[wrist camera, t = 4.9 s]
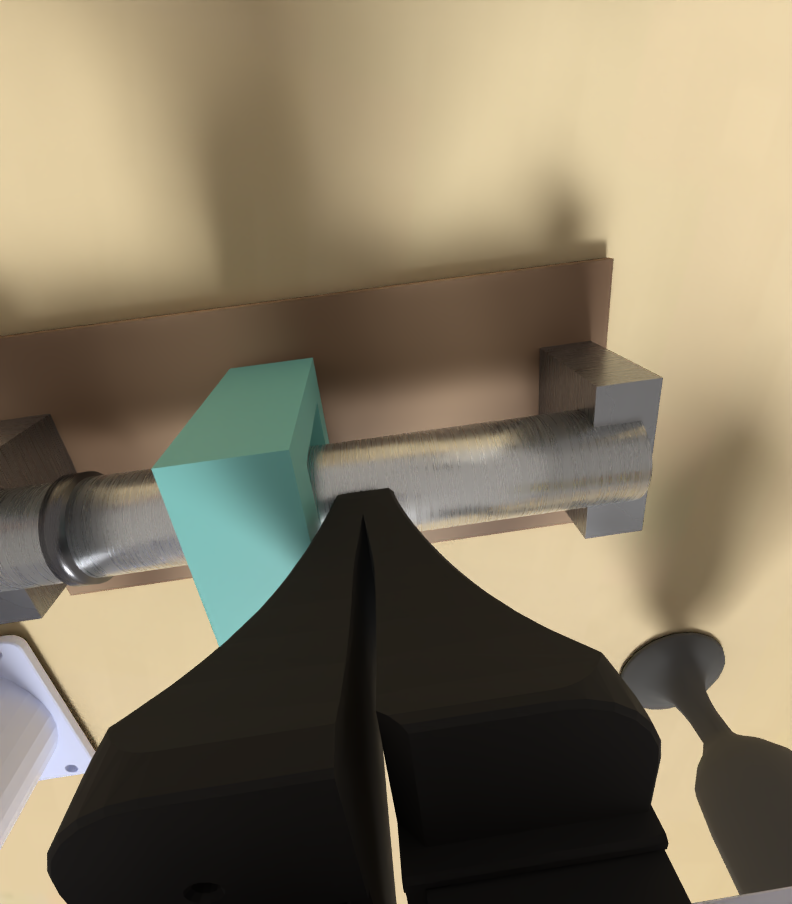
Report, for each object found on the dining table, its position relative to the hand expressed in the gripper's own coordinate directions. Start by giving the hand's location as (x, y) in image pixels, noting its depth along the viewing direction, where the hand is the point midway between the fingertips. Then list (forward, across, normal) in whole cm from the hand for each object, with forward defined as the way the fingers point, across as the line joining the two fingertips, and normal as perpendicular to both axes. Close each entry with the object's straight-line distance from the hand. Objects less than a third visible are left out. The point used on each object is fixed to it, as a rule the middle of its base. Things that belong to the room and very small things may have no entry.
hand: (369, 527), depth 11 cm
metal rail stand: (+5, +2, 0) cm, 6 cm away
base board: (+5, +2, 0) cm, 6 cm away
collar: (+5, +2, 0) cm, 6 cm away
